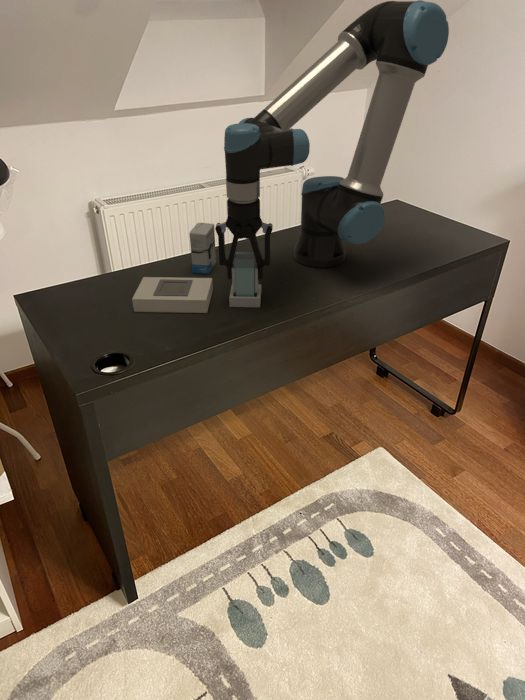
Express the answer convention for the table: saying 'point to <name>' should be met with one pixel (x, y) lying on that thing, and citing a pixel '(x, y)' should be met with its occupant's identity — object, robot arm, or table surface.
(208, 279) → the port
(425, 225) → the table surface
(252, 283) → the plug
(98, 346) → the table surface
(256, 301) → the grey square frame
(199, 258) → the ink box
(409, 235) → the table surface
